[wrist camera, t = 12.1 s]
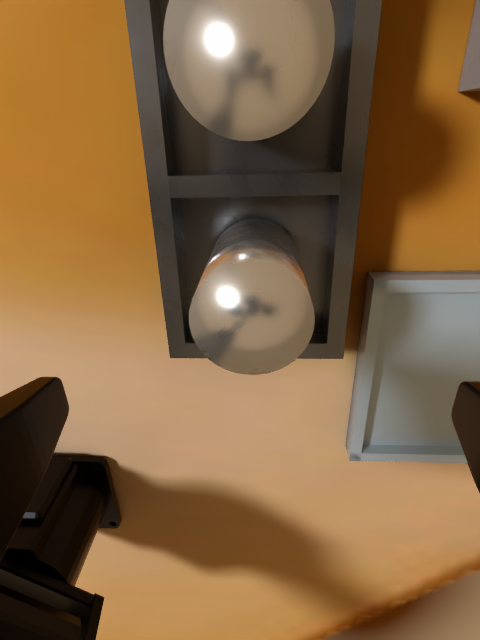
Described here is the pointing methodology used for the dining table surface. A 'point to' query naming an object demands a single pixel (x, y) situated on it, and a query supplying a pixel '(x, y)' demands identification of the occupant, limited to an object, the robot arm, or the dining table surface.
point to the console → (472, 56)
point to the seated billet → (248, 61)
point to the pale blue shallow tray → (413, 365)
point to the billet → (252, 301)
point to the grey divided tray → (258, 175)
